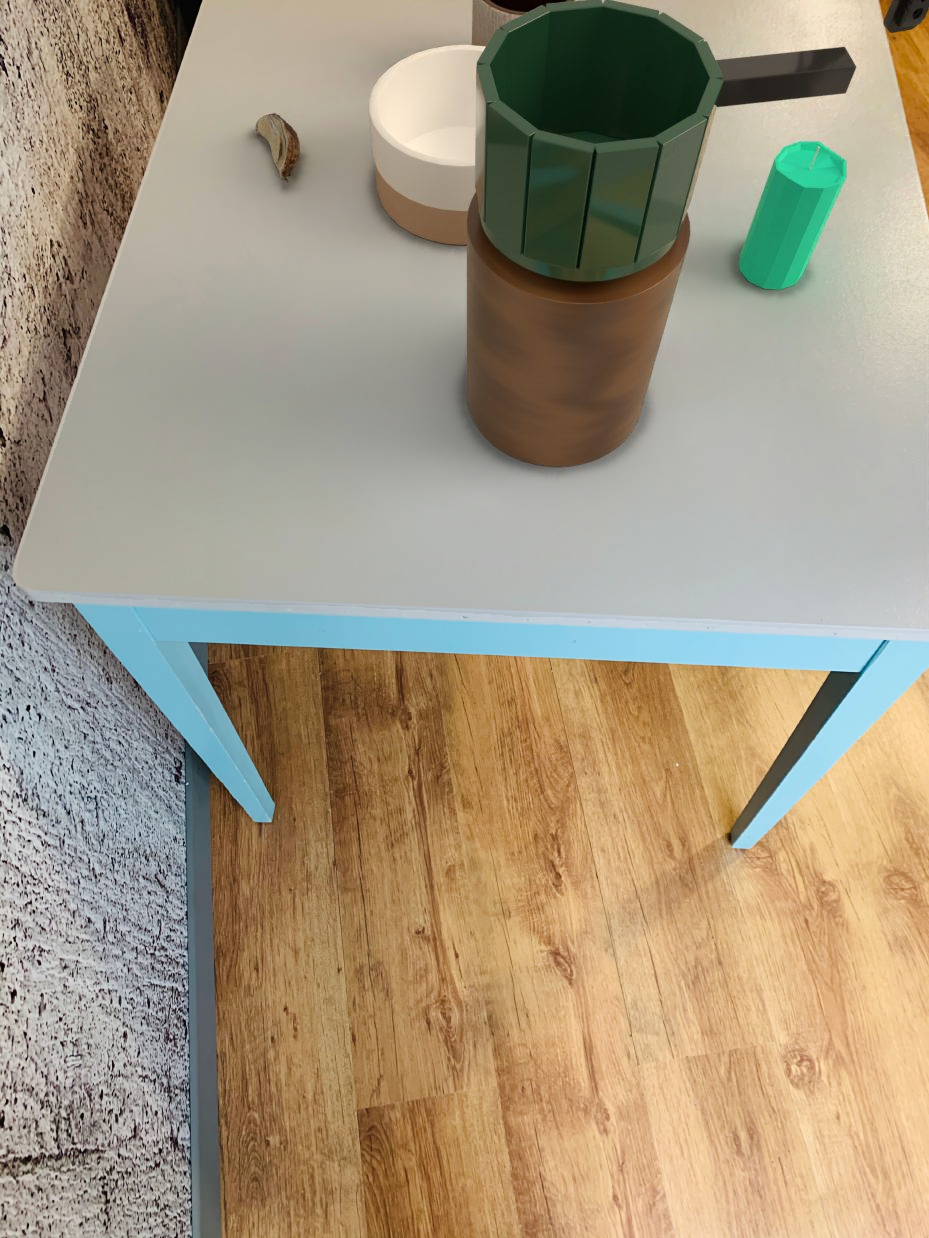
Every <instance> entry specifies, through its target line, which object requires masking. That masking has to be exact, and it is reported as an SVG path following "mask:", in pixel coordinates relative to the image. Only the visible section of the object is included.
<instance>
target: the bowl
mask: <svg viewBox="0 0 929 1238" xmlns="http://www.w3.org/2000/svg"><path fill="white" fill-rule="evenodd" d="M484 49H485V46H474V45H472V44H459V45H458V44H456V45H455V44H453V45H452V44H451V45H444V46H438V47H433V48H432V47H431V48H429V49H425V50H422V51H419V52H415V53H413V54H411V55H409V56H406V57H404V58H402V59H401V60H399V61H397V62H396V63H394V64H393V65H392V66H390V67H389V68H388V69H386V71H384V73H383V74H382V75H381V76H380V77H379V78H378V79H377V81H376V82H375V85H374V86H373V88H372V89H371V92H370V93H371V94H370V97H369V101H368V118H369V127H370V137H371V145H372V155H373V162H374V171H375V180H376V189H377V195H378V197H379V201H380V204H381V205H382V208H383V209H384V210H385V211H386V214H388V216H389V217H390V218H391V220H393V221H394V222H395V223H396V224H397V225H398V226H400V227H401V228H403V229H405V230H406V231H408V232H409V233H411V234H413V235H416V236H418V237H420V238H422V239H425V240H427V241H431V242H436V243H440V244H445V245H454V246H455V245H456V246H457V245H458V246H465V245H466V246H467V215H468V209H469V206H470V202H471V200H472V198H473V196H474V194H475V192H476V189H475V136H476V66H477V61H478V59H479V57H480V56H481V54H482V52H483V51H484Z"/></svg>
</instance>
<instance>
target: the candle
mask: <svg viewBox="0 0 929 1238" xmlns="http://www.w3.org/2000/svg"><path fill="white" fill-rule="evenodd" d="M847 161H848V160H846V159H845V158H843V157H842V156H841V155H840V154H838V153H837V152H835V151H834V150H832V149H831V148H829V147H828V146H827V145H825V144H824V143H822V142H820V140H819V141H818V140H817V141H815V140H814V141H813V140H812V141H811V140H810V141H809V140H801V141H797V142H793V143H791V144H788V145H785V146H783V147H782V148H781V149H780V151H779V152H778V154H777V155H776V156H775V157H774V160H773V162H772V164H771V167H770V170H769V173H768V176H767V179H766V181H765V184H764V188H763V190H762V193H761V195H760V199H759V201H758V204H757V207H756V209H755V212H754V216H753V218H752V221H751V224H750V226H749V230H748V232H747V234H746V237H745V240H744V243H743V245H742V248H741V251H740V254H739V257H738V263H739V264H738V266H739V267H738V269H739V271H740V273H741V274H742V275H743V277H744V278H745V279H746V280H747V282H749V283H752V284H754V285H756V286H758V287H759V288H762V289H763V290H765V289H767V290H777V291H778V290H779V291H781V290H785V289H787V288H790V287H793V286H795V285H796V284H797V283H798V282H799V281H800V279H801V278H802V276H803V275H804V273H805V271H806V268H807V266H808V264H809V262H810V260H811V257H812V256H813V253H814V250H815V248H816V246H817V244H818V242H819V239H820V238H821V235H822V233H823V230H824V228H825V226H826V224H827V222H828V219H829V217H830V215H831V213H832V210H833V209H834V206H835V204H836V202H837V199H838V197H839V195H840V193H841V191H842V188H843V186H844V184H845V182H846V180H847V177H848V175H847V173H848V172H847V171H848V170H847V165H848V164H847V163H848V162H847Z"/></svg>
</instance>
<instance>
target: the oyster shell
mask: <svg viewBox="0 0 929 1238" xmlns="http://www.w3.org/2000/svg"><path fill="white" fill-rule="evenodd" d="M254 133H255V134H256V135H258V136H262V137H263V138H264V139H265V140H266V141H267V142H268V143H269V147H270V150H271V156H272V159H273V163H274V164H275V165H276V167H277V169H278V171H279V178H280V179H281V180H284V181H285V182H286V183H287V184H288V183H289V179H288V177H291V173H292V172H293V170H294V169H295V167H296V165H297V162H298V161H299V158H300V157H299V156H300V151H301V146H300V138H299V136H298V133H297V131H296V130H295V129H294V128H293V127H292V126H291V124H289V123H288V122H287V121H286V120H285V119H284V118H283V117H281V115H279V114H277V113H275V112H274V113H269V114H266V115H263V116H260V117H259V118H258V119H257V121H256V122H255V130H254Z"/></svg>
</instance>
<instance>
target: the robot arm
mask: <svg viewBox="0 0 929 1238" xmlns="http://www.w3.org/2000/svg"><path fill="white" fill-rule="evenodd" d="M928 12H929V0H891V2H890V5H889V7H888V9H887V12H886V14H885V17H884V19H883V27H885V29H886V30H887V31H888V32H889V33H890V34H895V33H901V32H906V31H912V30H914V29H915V28H916V27H918V26H919V25H920V24H921V23H922V22H923V21H924V20H925V19H926V17H927V15H928Z"/></svg>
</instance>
